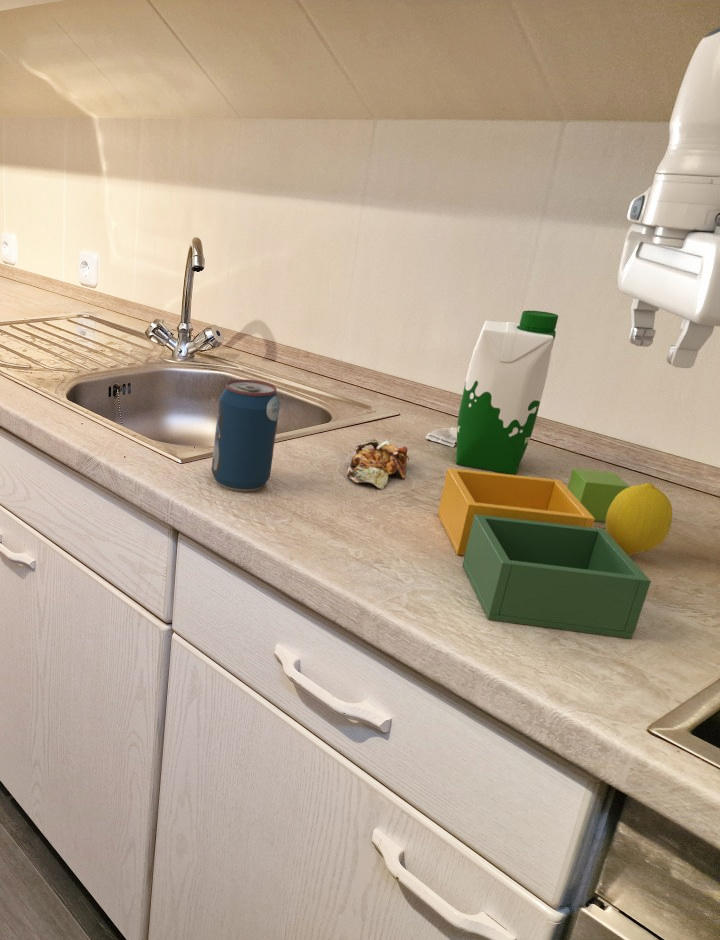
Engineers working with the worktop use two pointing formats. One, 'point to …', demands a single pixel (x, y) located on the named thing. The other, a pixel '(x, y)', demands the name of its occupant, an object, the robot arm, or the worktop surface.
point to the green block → (595, 490)
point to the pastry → (377, 462)
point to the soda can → (245, 435)
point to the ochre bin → (504, 502)
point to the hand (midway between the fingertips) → (657, 355)
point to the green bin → (554, 576)
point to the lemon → (639, 518)
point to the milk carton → (504, 391)
